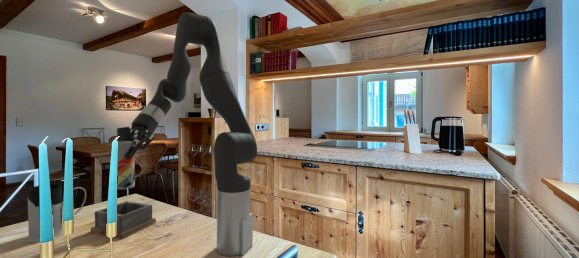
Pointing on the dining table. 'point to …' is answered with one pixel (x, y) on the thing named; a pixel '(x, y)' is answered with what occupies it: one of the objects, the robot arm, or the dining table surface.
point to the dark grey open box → (125, 219)
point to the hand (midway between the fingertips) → (119, 157)
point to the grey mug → (56, 209)
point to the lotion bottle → (125, 160)
